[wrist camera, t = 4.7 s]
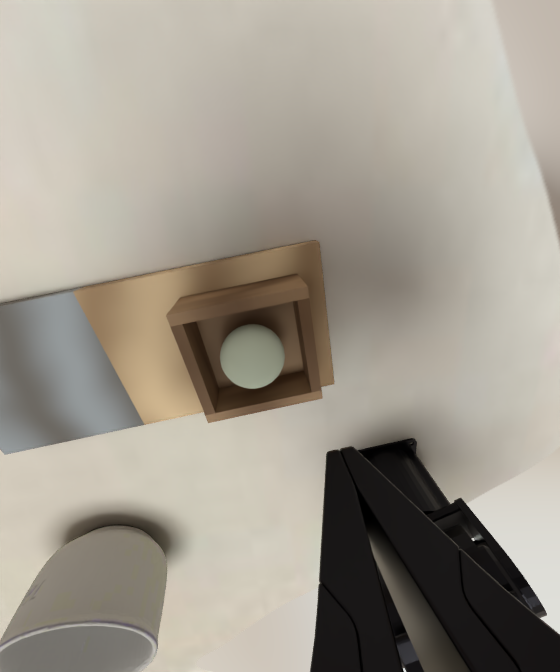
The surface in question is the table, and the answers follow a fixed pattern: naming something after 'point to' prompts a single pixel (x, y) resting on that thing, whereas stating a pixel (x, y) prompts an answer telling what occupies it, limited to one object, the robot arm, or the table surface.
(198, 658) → the table surface
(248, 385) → the sage ball
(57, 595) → the teacup
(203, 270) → the flat board
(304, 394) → the walnut box
